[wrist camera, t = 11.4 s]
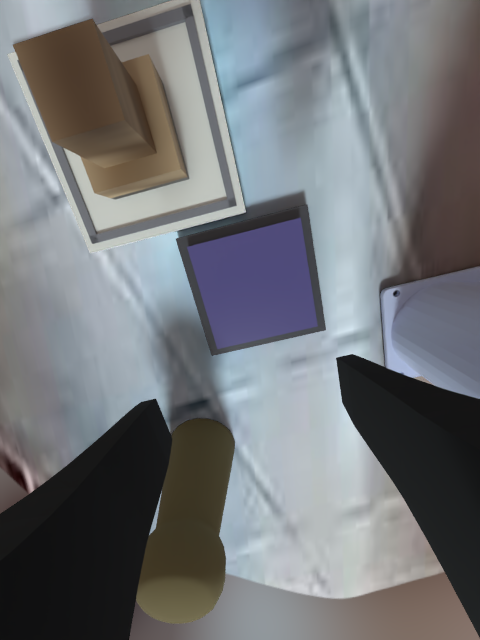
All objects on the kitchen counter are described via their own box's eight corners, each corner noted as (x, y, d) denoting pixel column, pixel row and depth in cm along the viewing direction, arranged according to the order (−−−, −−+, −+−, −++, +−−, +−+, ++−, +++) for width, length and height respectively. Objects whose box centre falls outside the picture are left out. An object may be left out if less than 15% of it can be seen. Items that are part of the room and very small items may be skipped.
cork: (163, 421, 23) (100, 578, 12) (230, 414, 23) (223, 567, 12) (177, 472, 25) (131, 646, 14) (238, 466, 24) (239, 637, 14)
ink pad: (304, 205, 17) (309, 203, 16) (322, 326, 20) (328, 332, 19) (178, 238, 18) (173, 238, 17) (212, 351, 21) (210, 359, 19)
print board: (199, 4, 14) (197, -12, 13) (245, 213, 17) (246, 211, 16) (19, 63, 15) (4, 51, 14) (96, 252, 18) (88, 253, 17)
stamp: (163, 83, 15) (107, -30, 8) (189, 179, 16) (158, 142, 10) (82, 108, 15) (-29, 16, 9) (115, 199, 16) (40, 176, 10)
